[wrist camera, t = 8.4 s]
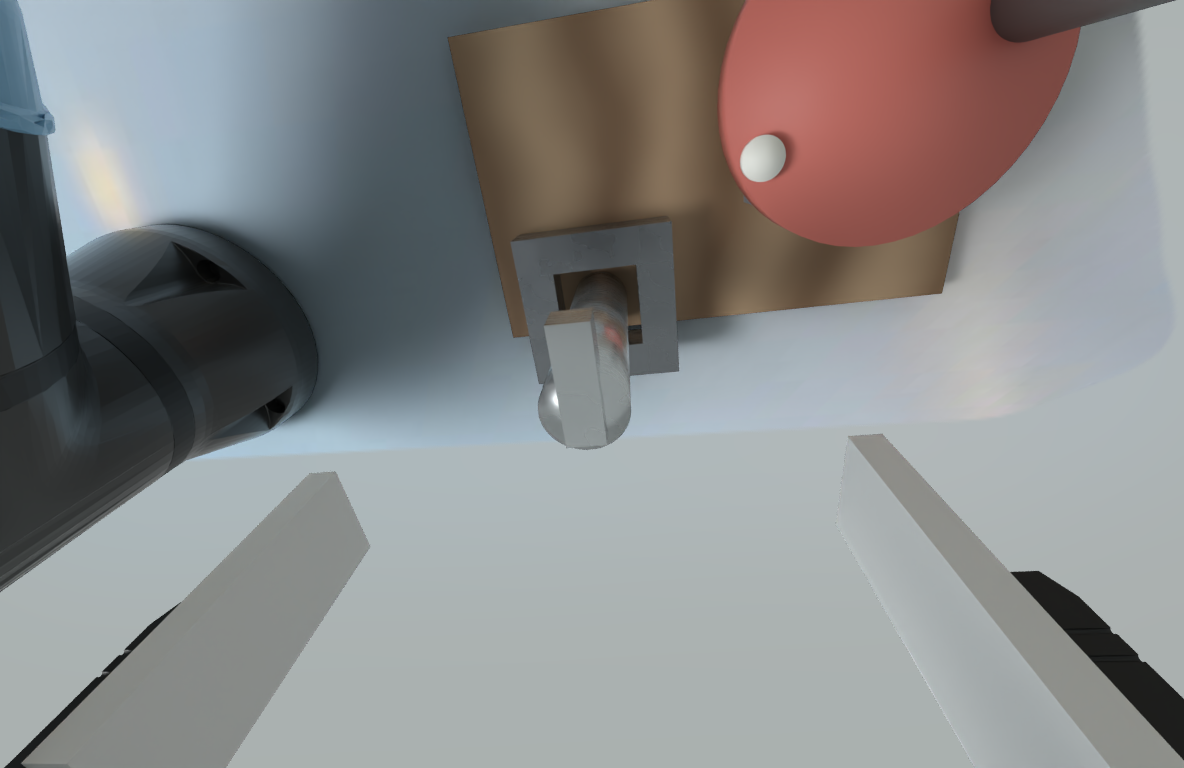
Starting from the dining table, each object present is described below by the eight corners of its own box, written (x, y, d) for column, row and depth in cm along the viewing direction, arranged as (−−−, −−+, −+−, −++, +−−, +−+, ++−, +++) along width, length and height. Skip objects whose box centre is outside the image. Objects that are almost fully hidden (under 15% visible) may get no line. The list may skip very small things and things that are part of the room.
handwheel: (666, 26, 19) (721, -134, 9) (1005, -224, 16) (1827, -1034, 5) (780, 287, 24) (908, 394, 13) (1062, 141, 20) (1551, 126, 10)
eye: (545, 367, 31) (539, 384, 28) (519, 234, 27) (510, 241, 24) (674, 354, 30) (678, 371, 27) (667, 215, 26) (671, 221, 24)
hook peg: (579, 324, 29) (543, 464, 16) (567, 244, 27) (514, 329, 14) (629, 319, 29) (635, 457, 16) (621, 237, 26) (620, 318, 13)
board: (518, 329, 31) (502, 355, 27) (457, 43, 24) (424, 21, 20) (926, 286, 28) (977, 308, 24) (993, -53, 21) (1080, -101, 17)
